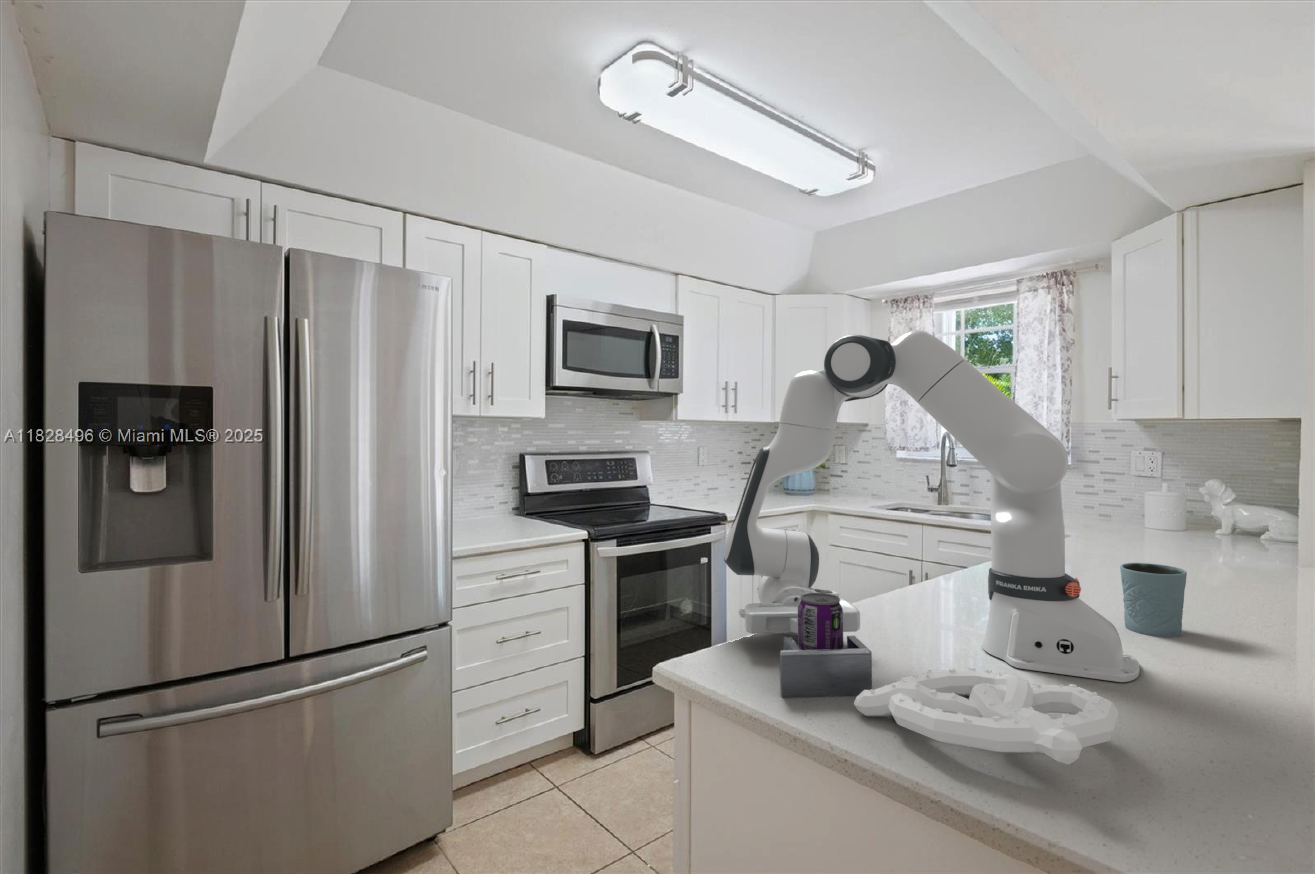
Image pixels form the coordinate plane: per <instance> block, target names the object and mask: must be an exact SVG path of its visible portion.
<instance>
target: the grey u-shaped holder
mask: <svg viewBox="0 0 1315 874" xmlns="http://www.w3.org/2000/svg"><path fill="white" fill-rule="evenodd" d="M872 655H873V653H872V651H871V650H870V649H869V647H867V646H866V644H864V643H863V642H862V641H861V640H860V639H858V638H857V636H856V635H846V648H843V649H819V650H801V649H800V648H799V647H798V643H797V642H796V641H795V640H794V639H793V637H792V636H783V650H780V653H779V670H780V671H779V674H780V675H779V676H780V677H779V680H780V681H779V682H780V685H779V687H780V690H779V692H780V693H779V694H780V696H781V698H817V697H818V698H821V697H824V698H825V697H857V696H858V695H859V694H860V693H861V692H862V691H864V690H871V689H873V674H872V673H873V668H872V667H873V664H872V662H873V661H872V659H873V658H872Z"/></svg>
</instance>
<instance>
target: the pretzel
mask: <svg viewBox="0 0 1315 874" xmlns="http://www.w3.org/2000/svg"><path fill="white" fill-rule="evenodd" d="M964 696H969V698H966V697H964ZM853 705H854V706H855V708H856V710H857V711H859V713H861V714H862V715H864V716H865V717H886V716H890V715H891V716H892V717H893V719H894V721H895V723H896V724H897V726H901V727H902V728H903V727H904V728H905V729H908V730H911V731H913V732H915V733H918V734H919V735H920V734H921V735H923V736H926V737H928V738H929V739H932V740H935V741H937V742H941V743H943V744H950V745H956V746H960V747H968V748H973V749H979V750H983V751H984V750H986V751H991V752H996V753H1043V754H1045V755H1046V756H1049V758H1051V759H1052V760H1055V761H1056V762H1059V763H1062V764H1065V765H1068V766H1069V765H1071V764H1072V763H1074V762H1075V761H1077V760H1079V759H1080V755H1081V752H1082V750H1083V748H1086V747H1091V746H1095V745H1098V744H1103V743H1106V742H1110V741H1111V737H1112V735H1113V732H1114V729H1115V725H1116V723H1117V720H1118V716H1119V714H1120V713H1119V711H1118V710H1117V708H1116V706H1115V705H1114V703H1113V701H1110V700H1109V699H1107V698H1105V697H1102V696H1100V695H1098V693H1097V692H1095V691H1093V692H1092V691H1090V690H1088V689H1085V688H1083V687H1080V686H1077V684H1073V683H1069V684H1068V685H1064V684H1062V683H1059V684H1046V685H1040V684H1035V686H1033V687H1032V685H1031V683H1030V682H1029V680H1028V679H1025V678H1024V677H1021V676H1020V675H1019V676H1018V675H1015V674H1006V673H1004V672H998V673H995V672H993V670H991V669H986V670H985V671H983V670H978V669H976V667H968V669H956V668H955V667H952V668H949V669H947V670H945V669H943V670H942V669H941V670H938V671H937V670H936V671H933V670H931V669H928V670H927V671H926V673H921V674H919V673H913V674H912V675H909V676H904V675H903V676H902V677H901V679H899V680H898V681H896V682H893V683H889V684H885V685H884V684H883V685H882V686H881V687H878V688H875V689H873V688H872V689H871V690H864V691H862V692H861V693H860V694H859V695H858V696H855V699H854V702H853ZM1051 713H1055V714H1061V717H1057V718H1054V719H1053V718H1051V716H1050V715H1048V714H1051Z"/></svg>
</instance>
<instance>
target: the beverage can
mask: <svg viewBox="0 0 1315 874" xmlns="http://www.w3.org/2000/svg"><path fill="white" fill-rule="evenodd" d="M840 598H841V597H840V596H839V597H837V596H835V595H832V594H826V593H807V594H803V595H801V602H800V604H799V606H798V634H797V645H798V647H799V648H800V649H801V650H819V649H844V632H843V609H842V607H841V605H840V603H839V602H840Z"/></svg>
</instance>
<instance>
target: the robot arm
mask: <svg viewBox="0 0 1315 874" xmlns="http://www.w3.org/2000/svg"><path fill="white" fill-rule="evenodd" d="M888 385H894V386H897V387H899V388H901V389H902V390H903V391H905V392H906V393H907V395H908V396H910V397H911V398H912V399H913V400H914V401H915V402H916V403H918V405H919V406H920V407H921V408H922V409H923V410H925V411H926V412H927V413H928V414H929V416H931V417H932V418H933V419H934V420H935V421H936V422H937V423H938V424H939V425H940V426H941V427H942V428H944V429H945V430H946V431H947V432H948V433H949V434H950V435H951V436H952V437H953V438H954V439H955V440H956V441H957V442H958V443H959V444H960V445H961V446H962V447H963V448H964V449H965V450H966V451H967V452H968V453H969V454H970V455H971V456H973V458H974V459H976V461H978V462H979V464H981V465H982V466H983V467H984V469H986V471H988V472H989V492H990V493H989V494H990V496H989V498H990V501H989V502H990V503H989V504H990V541H991V542H990V551H991V552H990V553H991V554H990V558H991V566H990V568H989V569H988V574H987V595H988V599H989V600H990V601H989V603H990V604H989V613H988V618H987V625H986V630H985V633H984V637H983V639H982V640H983V641H982V643H981V648H982V649H983V650H984V651H985V652H986V653H987V654H990V655H991V656H994V657H996V658H998V659H1001V660H1003V661H1005V662H1006V663H1007V664H1009V665H1010V666H1012V667H1014V668H1017V669H1022V670H1029V671H1037V672H1044V673H1051V674H1052V673H1053V674H1058V675H1067V676H1073V677H1080V678H1081V677H1082V678H1087V679H1095V680H1103V681H1110V682H1117V683H1126V682H1131V681H1133V680H1136V679H1137V678H1138V677H1139V675H1140V671H1141V670H1140V662H1139V661H1138V659H1137V658H1136V657H1135V656H1133V655H1132V654H1130V653H1128V652H1126V651H1123V645H1122V640H1121V637H1120V633H1119V632H1118V630H1117V628H1116V626H1115V625H1114V624H1113V623H1112V622H1111V621H1110V620H1109V619H1108V618H1106V617H1105V616H1104V615H1102V614H1101V613H1099V612H1098V611H1097V610H1096V609H1094V608H1093V607H1091V606H1090V605H1089V604H1087V602H1085V601H1083V600H1082V599H1081V598H1080V596H1081V595H1080V594H1081V591H1082V587H1081V586H1080V584H1081V583H1080V581H1079V579H1078V578H1077V577H1075V578H1074V577H1073V576H1071V575H1070V574H1068V573H1066V544H1065V543H1066V537H1065V535H1066V534H1065V533H1066V532H1065V530H1066V529H1065V528H1066V527H1065V521H1064V512H1063V511H1064V510H1063V501H1062V500H1063V498H1062V485H1061V482H1062V480H1063V479H1064V478H1065V476H1066V474H1067V472H1068V471H1067V470H1068V468H1069V456H1068V452H1067V449H1066V447H1065V445H1064V444H1063V443H1062V441H1060V439H1059V438H1057V436H1055V435H1054V434H1053V433H1052V432H1050V430H1048V429H1047V428H1046V427H1045V425H1043V424H1042V423H1040V422H1039V421H1038V420H1037V419H1035V418H1034V417H1033V416H1032V415H1030V414H1029V413H1028V412H1027V411H1026V410H1025V409H1024V408H1022V406H1020V405H1019V404H1018V403H1016V402H1015V401H1014V400H1012V399H1011V398H1010V397H1009V396H1008V395H1006V394H1005V393H1004V392H1003V391H1001V390H1000V389H999V388H998V387H997V386H996V385H995V384H994V383H992V382H991V381H990V380H989V379H988V378H987V377H985V376H984V375H983V374H982V373H981V372H980V371H979V370H978V369H977V368H976V367H974V366H973V365H972V364H971V363H970V362H969V361H968V360H967V359H966V358H964V357H963V356H962V355H961V354H960V353H958V351H956V350H955V349H954V348H952V347H951V346H949V345H948V344H947V343H945V342H944V341H942V340H941V339H939V338H937V337H935V335H932V334H931V333H929V332H927V331H925V330H921V329H920V330H919V329H917V330H916V329H915V330H911V331H908V332H906V333H904V334H902V335H901V336H899V337H898V338H897V339H896V340H894V342H892V343H890V342H889V341H888V340H886V339H880V338H877V337H876V338H874V337H871V336H867V335H863V334H862V335H861V334H849V335H846V336H843V337H841V338H838V339H837V340H836V341H834V342H833V343H832V344H831V345H830V347H829V348H828V350H827V351H826V353H825V357H824V360H823V369H820V370H805V371H800V372H798V373H797V374H795V375H793V377H792V378H791V379H790V381H789V384H788V387H787V389H786V393H785V396H784V398H783V399H784V400H783V404H782V407H781V412H780V416H779V417H780V418H779V423H778V428H777V432H776V434H775V436H774V438H773V439H772V441H771V442H770V443H769V444H768V445H766V446H764V447H762V448H760V449H759V450H758V452H757V454H756V457H755V459H754V461H753V463H752V467H751V469H750V472H749V475H748V477H747V479H746V483H745V487H744V489H743V493H742V495H741V498H740V502H739V505H738V508H737V509H736V510H737V511H736V514H735V517H734V519H733V522H732V524H731V527H730V530H729V532H728V534H727V536H726V539H725V542H724V544H723V561H724V563H725V564H726V566H727V567H728V568H729V569H730V570H731V571H732V572H733V574H736V575H737V576H761V578H760V580H759V582H758V586H757V593H758V599H759V602H756V603H755V602H753V603H747V604H746V605H745V606H744V609H739V611H738V614H739V616H740V618H742V619H744V628H745V631H746V632H747V633H750V634H755V635H756V634H787V635H798V606H799V604H800V602H801V595H803V594H807V593H826V594H832V595H835V596H837V597H839V598H840V602H839V603H840V605H841V607H842V609H843V633H855V632H858V631H859V630H860V629H861V613H860V610H859V609H858V607H856V606H855V605H854V604H853V603H852V602H850V601H849V600H847V599H844V598H841V597H840V594H839V592H838V591H835V590H830V589H829V590H827V589H819V588H813V585H814V584H815V583H816V580H817V578H818V573H819V568H820V567H819V566H820V553H819V550H818V547H817V545H816V543H815V541H814V540H813V539H812V537H811V535H809V533H807V532H803V531H797V530H791V529H790V530H789V529H778V528H771V527H763V526H758V525H757V522H758V519H759V516H760V513H761V509H762V507H763V504H764V502H765V501H764V500H765V497H766V495H767V492H768V490H769V488H770V487H771V486H772V485H773V483H774V482H776V481H778V480H780V479H783V478H785V477H788V476H792V475H796V474H800V473H805V472H808V471H811V470H814V469H815V468H818V467H819V466H820V465H822V464H823V463H824V462H826V460H828V458H829V457H830V456H831V453H832V450H833V447H834V443H835V439H836V437H835V436H836V429H837V423H838V418H839V417H838V416H839V412H840V410H841V407H842V404H843V403H844V402H845V403H846V402H851V401H856V400H857V401H858V400H865V399H868V398H870V399H871V398H872V397H875V396H877V395H879V394H880V393H881V392H883V391H884V390H885V389H886V388H887V386H888Z"/></svg>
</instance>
